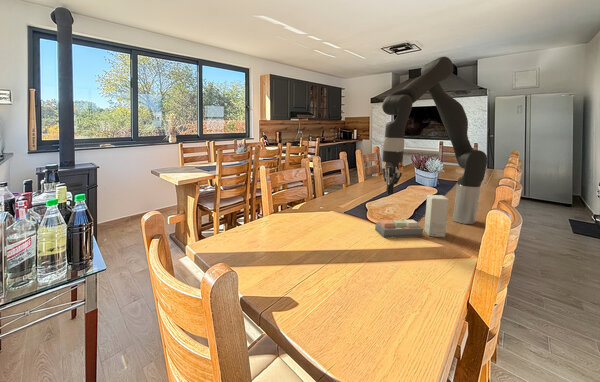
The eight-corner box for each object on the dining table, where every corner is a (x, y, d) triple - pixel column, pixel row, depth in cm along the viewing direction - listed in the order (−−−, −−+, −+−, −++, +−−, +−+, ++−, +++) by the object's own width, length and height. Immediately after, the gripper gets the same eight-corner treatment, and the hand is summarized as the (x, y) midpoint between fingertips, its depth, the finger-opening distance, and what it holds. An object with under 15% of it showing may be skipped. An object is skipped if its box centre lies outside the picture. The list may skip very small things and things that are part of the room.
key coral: (389, 224, 118) (389, 220, 118) (393, 228, 115) (394, 223, 114) (380, 225, 118) (380, 220, 118) (384, 228, 114) (384, 223, 114)
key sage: (400, 224, 119) (401, 219, 119) (405, 227, 115) (406, 222, 115) (391, 224, 119) (392, 220, 118) (396, 227, 115) (396, 223, 114)
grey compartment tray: (410, 228, 123) (411, 221, 122) (422, 236, 114) (423, 228, 113) (375, 229, 121) (375, 222, 120) (383, 237, 112) (384, 229, 111)
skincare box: (445, 237, 113) (450, 199, 110) (427, 236, 114) (431, 198, 111) (439, 230, 121) (443, 194, 118) (422, 229, 122) (426, 193, 119)
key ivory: (412, 224, 120) (412, 219, 119) (417, 227, 116) (417, 222, 115) (403, 224, 119) (403, 219, 119) (407, 227, 115) (408, 222, 115)
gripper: (377, 148, 116) (374, 190, 119) (391, 151, 103) (387, 198, 107) (394, 148, 117) (391, 190, 120) (411, 151, 104) (406, 197, 107)
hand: (389, 193), depth 113 cm, fingers closed
